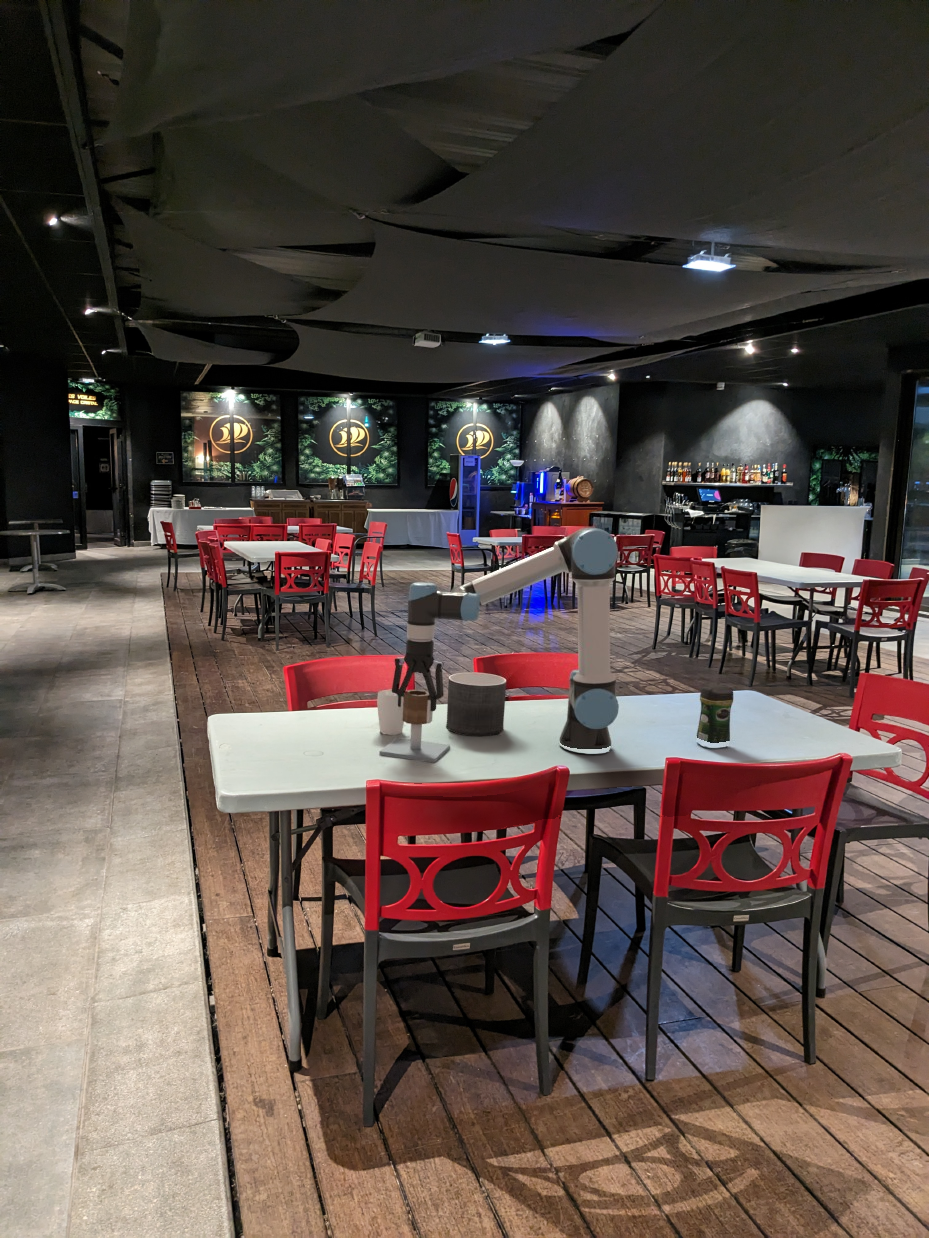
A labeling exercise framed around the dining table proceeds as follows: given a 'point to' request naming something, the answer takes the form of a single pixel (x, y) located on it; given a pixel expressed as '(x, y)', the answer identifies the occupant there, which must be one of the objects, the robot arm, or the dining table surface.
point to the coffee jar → (715, 714)
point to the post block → (415, 747)
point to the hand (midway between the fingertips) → (416, 720)
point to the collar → (415, 706)
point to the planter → (476, 704)
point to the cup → (389, 713)
